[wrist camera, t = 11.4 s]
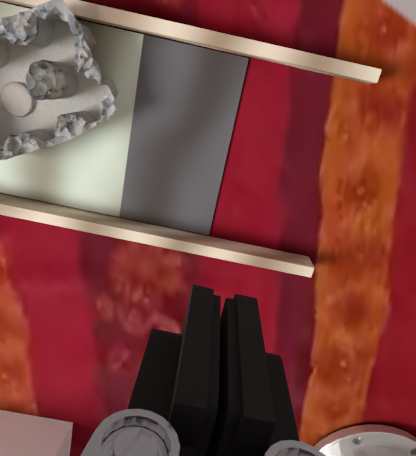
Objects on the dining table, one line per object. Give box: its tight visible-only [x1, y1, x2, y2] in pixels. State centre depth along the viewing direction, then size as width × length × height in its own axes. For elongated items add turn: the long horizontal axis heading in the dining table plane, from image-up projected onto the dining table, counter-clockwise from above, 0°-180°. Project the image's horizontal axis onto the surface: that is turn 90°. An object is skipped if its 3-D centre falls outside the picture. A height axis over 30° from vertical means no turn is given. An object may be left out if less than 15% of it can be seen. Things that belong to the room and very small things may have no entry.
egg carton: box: [0, 0, 118, 160], centre depth 25 cm, size 11×8×4 cm
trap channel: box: [0, 0, 382, 277], centre depth 26 cm, size 32×15×2 cm, turn 78°
